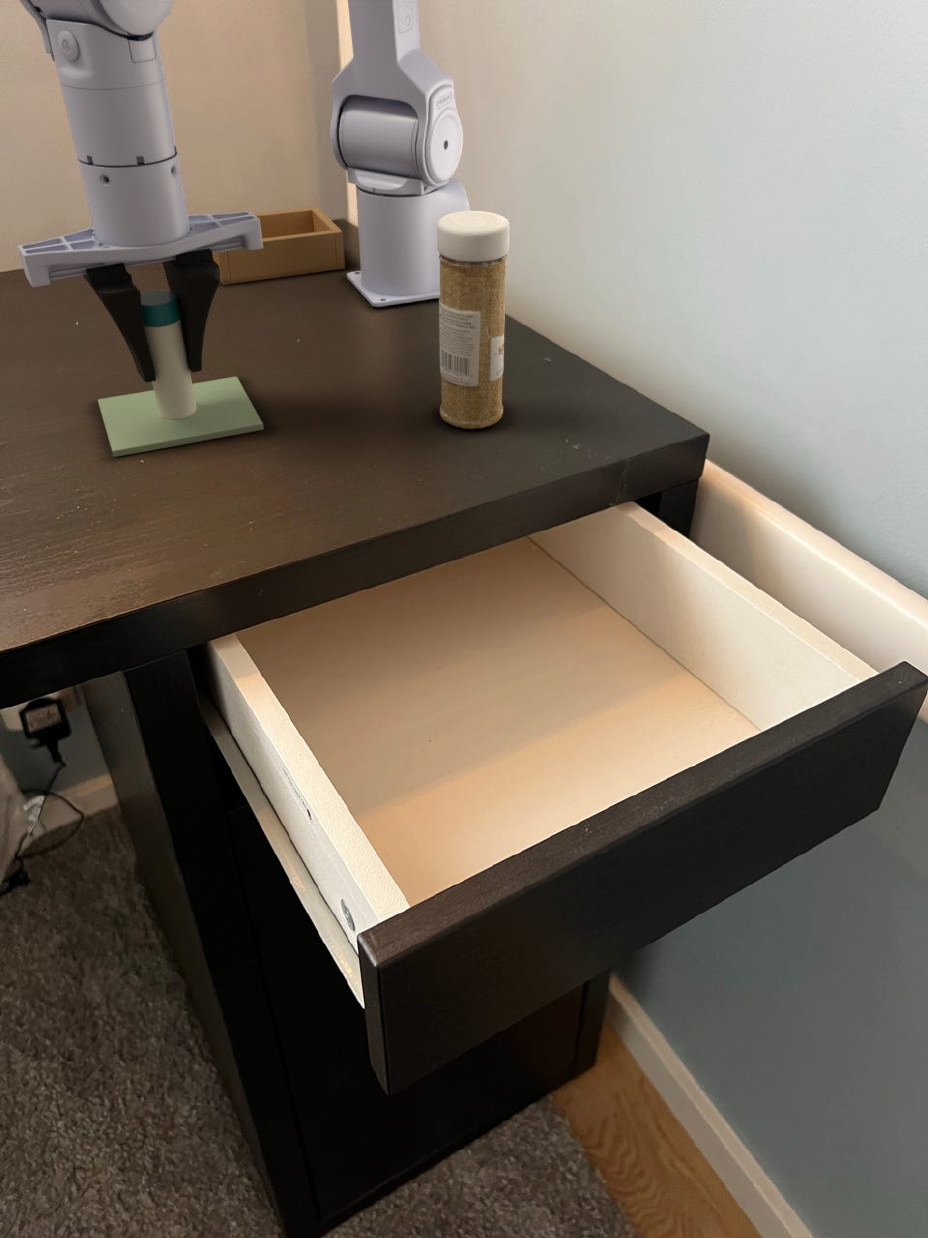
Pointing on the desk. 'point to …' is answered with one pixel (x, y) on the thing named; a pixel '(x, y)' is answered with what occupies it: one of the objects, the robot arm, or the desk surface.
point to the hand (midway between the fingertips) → (170, 371)
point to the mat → (145, 430)
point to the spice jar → (472, 316)
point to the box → (286, 248)
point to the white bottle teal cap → (168, 355)
